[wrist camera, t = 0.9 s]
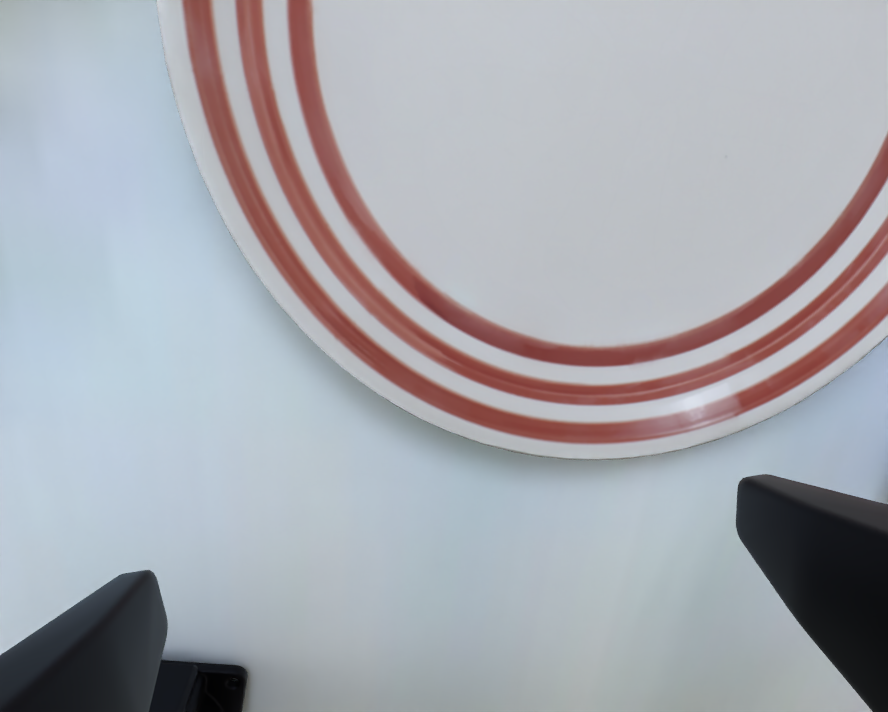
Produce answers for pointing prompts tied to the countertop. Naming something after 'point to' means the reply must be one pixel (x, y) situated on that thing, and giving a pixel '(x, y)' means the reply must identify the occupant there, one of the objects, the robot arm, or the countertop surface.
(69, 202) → the countertop surface
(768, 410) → the dinner plate
